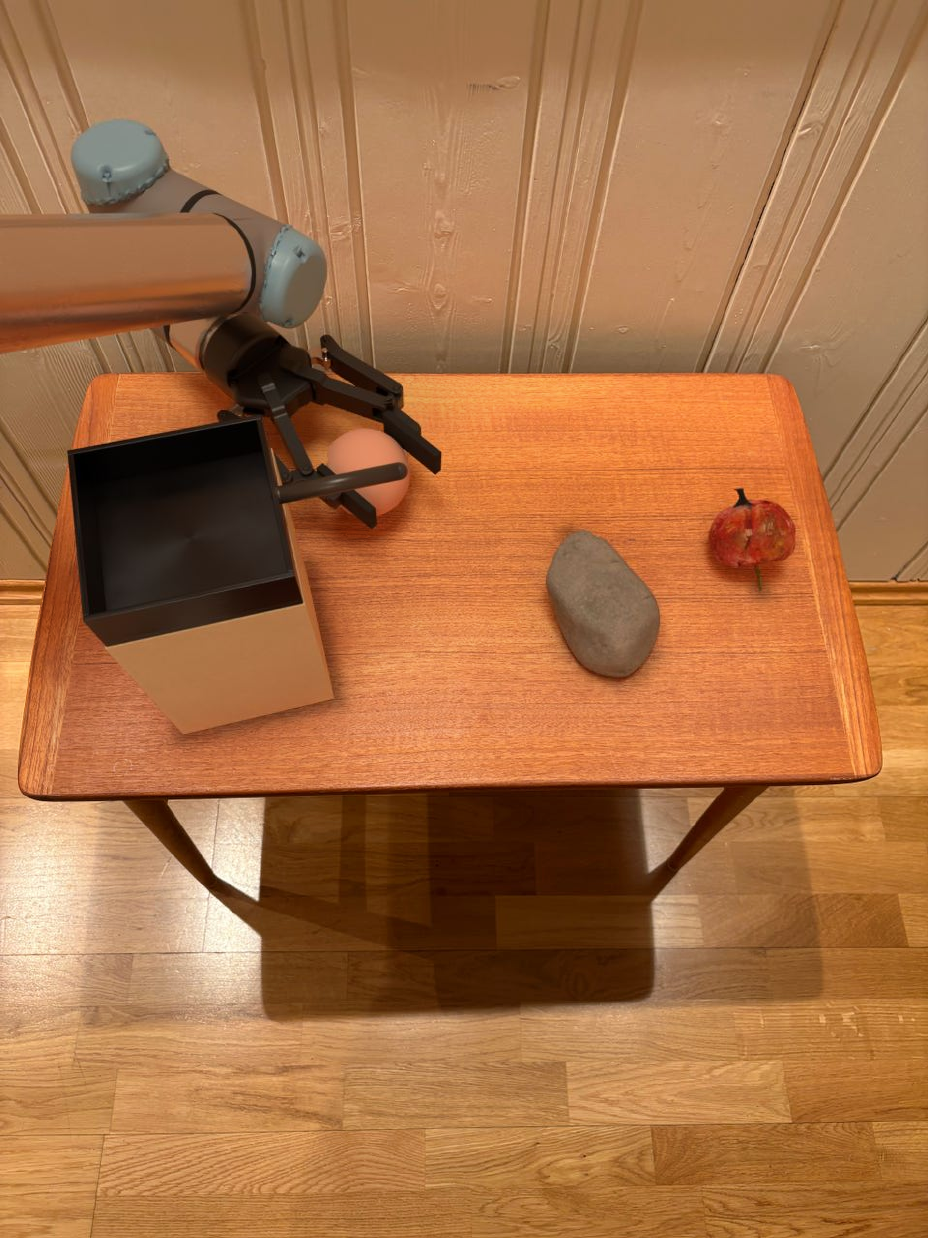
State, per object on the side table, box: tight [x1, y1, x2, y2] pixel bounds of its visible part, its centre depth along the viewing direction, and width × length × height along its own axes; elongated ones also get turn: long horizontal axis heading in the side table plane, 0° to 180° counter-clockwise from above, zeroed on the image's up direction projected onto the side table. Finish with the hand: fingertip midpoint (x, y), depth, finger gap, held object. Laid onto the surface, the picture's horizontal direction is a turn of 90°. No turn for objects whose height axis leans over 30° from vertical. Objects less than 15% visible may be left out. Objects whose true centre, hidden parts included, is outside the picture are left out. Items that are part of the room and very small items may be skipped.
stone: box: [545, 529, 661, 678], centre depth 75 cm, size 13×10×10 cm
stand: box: [104, 447, 335, 735], centre depth 66 cm, size 13×13×19 cm
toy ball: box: [326, 427, 411, 517], centre depth 76 cm, size 8×8×8 cm
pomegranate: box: [708, 487, 797, 591], centre depth 78 cm, size 7×7×10 cm
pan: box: [66, 414, 408, 647], centre depth 56 cm, size 22×13×4 cm, turn 105°
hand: (406, 490), depth 73 cm, fingers closed on toy ball, 7 cm apart
